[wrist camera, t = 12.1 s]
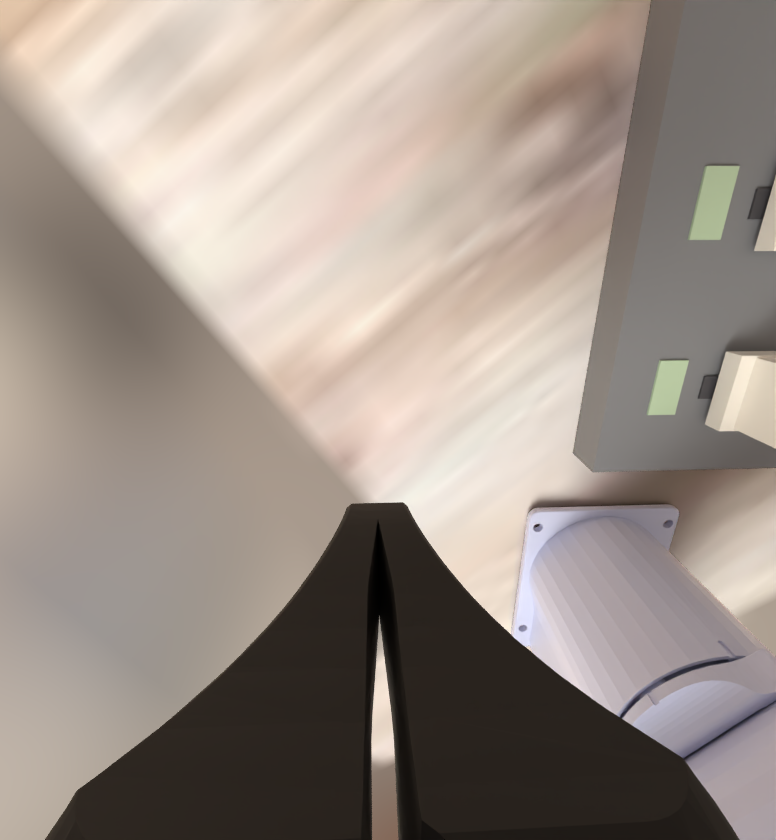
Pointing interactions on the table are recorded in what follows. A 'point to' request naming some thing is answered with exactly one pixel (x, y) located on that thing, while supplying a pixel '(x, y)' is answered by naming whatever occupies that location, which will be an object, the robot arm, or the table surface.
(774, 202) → the switch
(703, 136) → the switch panel
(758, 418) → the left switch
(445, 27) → the table surface
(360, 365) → the table surface
